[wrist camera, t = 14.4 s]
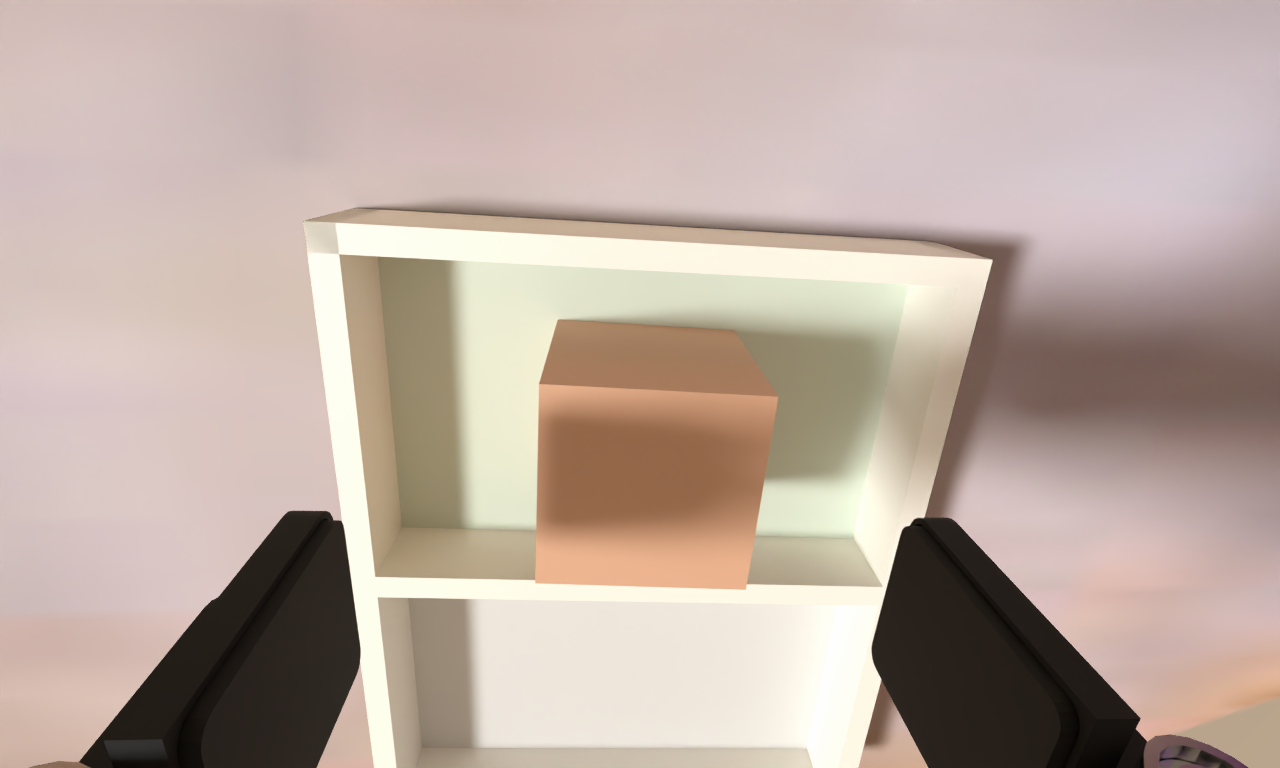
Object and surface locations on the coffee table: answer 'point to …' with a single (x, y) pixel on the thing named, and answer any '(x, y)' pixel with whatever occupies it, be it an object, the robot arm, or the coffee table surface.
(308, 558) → the robot arm
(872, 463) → the sorting box
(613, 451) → the plain light orange cube
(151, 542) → the coffee table surface
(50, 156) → the coffee table surface
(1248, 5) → the coffee table surface
